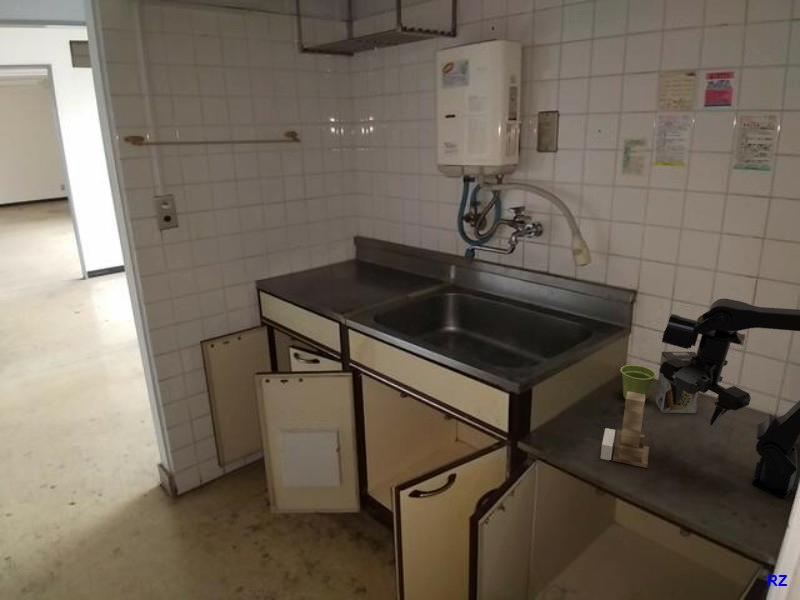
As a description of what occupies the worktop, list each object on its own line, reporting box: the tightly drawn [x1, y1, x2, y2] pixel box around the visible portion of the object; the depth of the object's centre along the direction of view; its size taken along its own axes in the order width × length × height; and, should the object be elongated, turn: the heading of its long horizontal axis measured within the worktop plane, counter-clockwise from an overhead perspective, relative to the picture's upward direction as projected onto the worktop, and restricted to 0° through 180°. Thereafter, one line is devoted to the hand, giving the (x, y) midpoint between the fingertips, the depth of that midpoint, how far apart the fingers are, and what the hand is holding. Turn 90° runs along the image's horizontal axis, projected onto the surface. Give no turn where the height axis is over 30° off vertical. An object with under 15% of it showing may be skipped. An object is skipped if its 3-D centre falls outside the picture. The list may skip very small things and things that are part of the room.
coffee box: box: [655, 351, 700, 414], centre depth 154 cm, size 9×6×16 cm
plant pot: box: [620, 364, 657, 402], centre depth 161 cm, size 9×9×9 cm
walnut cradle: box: [612, 429, 650, 469], centre depth 134 cm, size 8×8×4 cm
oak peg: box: [621, 391, 646, 448], centre depth 133 cm, size 4×4×15 cm
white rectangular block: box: [600, 427, 616, 461], centre depth 137 cm, size 2×8×4 cm, turn 155°
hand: (693, 414), depth 128 cm, fingers open, 9 cm apart
